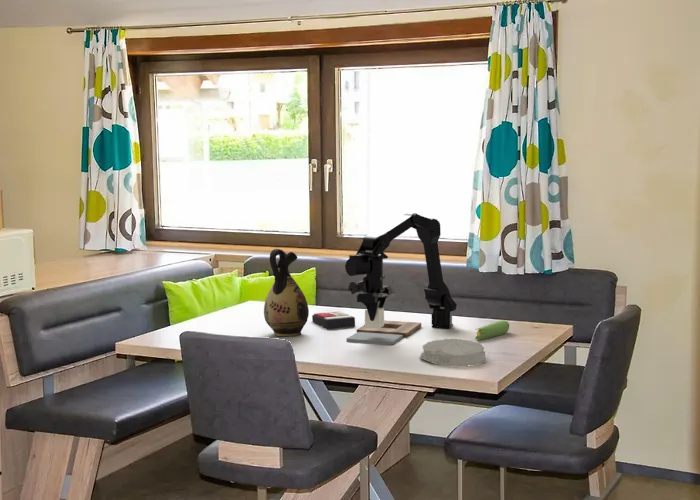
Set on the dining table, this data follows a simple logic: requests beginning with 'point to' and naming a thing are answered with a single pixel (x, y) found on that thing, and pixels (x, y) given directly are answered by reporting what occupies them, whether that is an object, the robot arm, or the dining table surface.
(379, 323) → the white block
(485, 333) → the edible corn
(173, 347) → the dining table surface
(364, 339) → the grey mat
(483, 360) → the grey stone disc
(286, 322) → the ceramic jug
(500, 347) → the dining table surface
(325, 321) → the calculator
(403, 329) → the pocket plate
